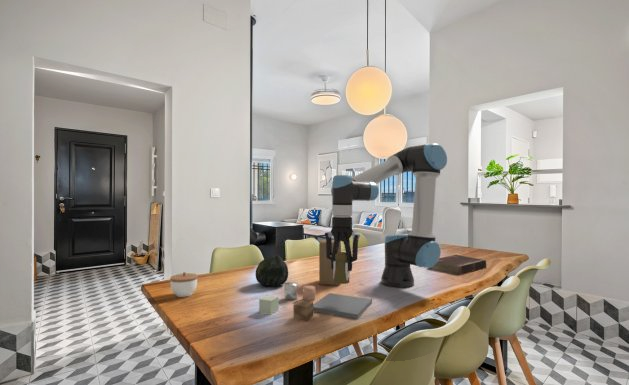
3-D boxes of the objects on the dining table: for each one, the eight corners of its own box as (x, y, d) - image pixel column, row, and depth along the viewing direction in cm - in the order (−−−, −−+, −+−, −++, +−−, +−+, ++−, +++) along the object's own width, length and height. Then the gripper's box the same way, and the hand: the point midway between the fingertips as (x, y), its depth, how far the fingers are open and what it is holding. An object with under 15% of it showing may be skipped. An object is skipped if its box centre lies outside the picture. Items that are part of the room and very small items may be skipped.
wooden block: (341, 280, 161) (341, 239, 161) (340, 285, 151) (340, 242, 151) (320, 279, 162) (320, 239, 162) (319, 285, 152) (319, 242, 152)
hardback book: (459, 275, 172) (459, 266, 172) (428, 269, 187) (428, 260, 187) (486, 268, 189) (486, 259, 189) (455, 262, 204) (455, 254, 204)
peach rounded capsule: (317, 298, 132) (317, 286, 132) (311, 302, 128) (311, 289, 128) (306, 297, 135) (306, 284, 135) (300, 300, 130) (300, 288, 130)
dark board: (372, 303, 127) (372, 299, 127) (357, 318, 111) (357, 314, 111) (329, 296, 135) (329, 293, 135) (310, 310, 119) (310, 306, 119)
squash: (251, 269, 159) (257, 250, 150) (281, 268, 165) (288, 249, 156) (256, 295, 149) (262, 276, 140) (287, 293, 155) (295, 274, 146)
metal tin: (299, 297, 134) (299, 283, 134) (293, 301, 129) (293, 286, 129) (288, 296, 136) (288, 281, 136) (282, 299, 131) (282, 284, 131)
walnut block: (313, 316, 113) (313, 302, 113) (306, 321, 109) (306, 306, 109) (300, 314, 115) (300, 300, 115) (293, 319, 111) (293, 304, 111)
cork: (332, 279, 126) (332, 251, 126) (347, 279, 126) (348, 250, 126) (334, 284, 120) (334, 253, 120) (351, 283, 120) (351, 253, 120)
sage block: (278, 310, 119) (278, 296, 119) (271, 315, 115) (271, 300, 115) (267, 308, 121) (267, 294, 121) (259, 312, 117) (259, 298, 117)
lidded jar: (191, 289, 145) (191, 268, 145) (202, 294, 138) (202, 272, 138) (166, 294, 138) (166, 272, 138) (176, 300, 130) (176, 276, 130)
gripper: (367, 216, 123) (366, 279, 123) (325, 215, 130) (324, 274, 130) (361, 217, 116) (360, 284, 116) (317, 216, 123) (316, 278, 123)
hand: (341, 278), depth 123 cm, fingers closed on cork, 4 cm apart
